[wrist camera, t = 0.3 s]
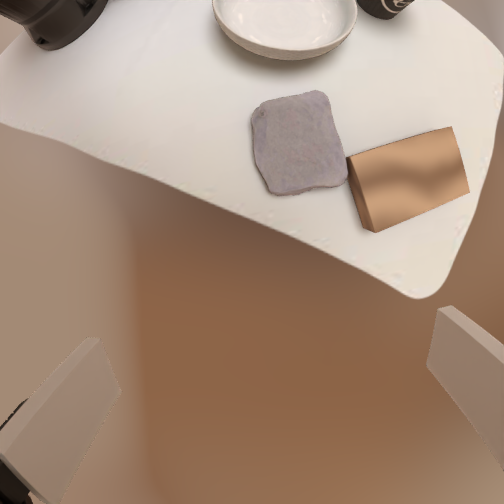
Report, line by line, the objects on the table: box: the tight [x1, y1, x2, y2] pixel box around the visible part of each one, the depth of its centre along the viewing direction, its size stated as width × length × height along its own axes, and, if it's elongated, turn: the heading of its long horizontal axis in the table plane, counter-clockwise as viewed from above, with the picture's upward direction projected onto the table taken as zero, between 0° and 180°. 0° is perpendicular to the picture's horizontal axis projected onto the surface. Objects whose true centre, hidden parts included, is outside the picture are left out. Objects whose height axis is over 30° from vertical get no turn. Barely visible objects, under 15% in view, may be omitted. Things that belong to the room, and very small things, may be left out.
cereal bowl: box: [212, 0, 357, 60], centre depth 24 cm, size 17×17×7 cm
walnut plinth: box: [346, 126, 470, 233], centre depth 30 cm, size 9×16×4 cm, turn 112°
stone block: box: [251, 90, 348, 196], centre depth 31 cm, size 12×5×10 cm
